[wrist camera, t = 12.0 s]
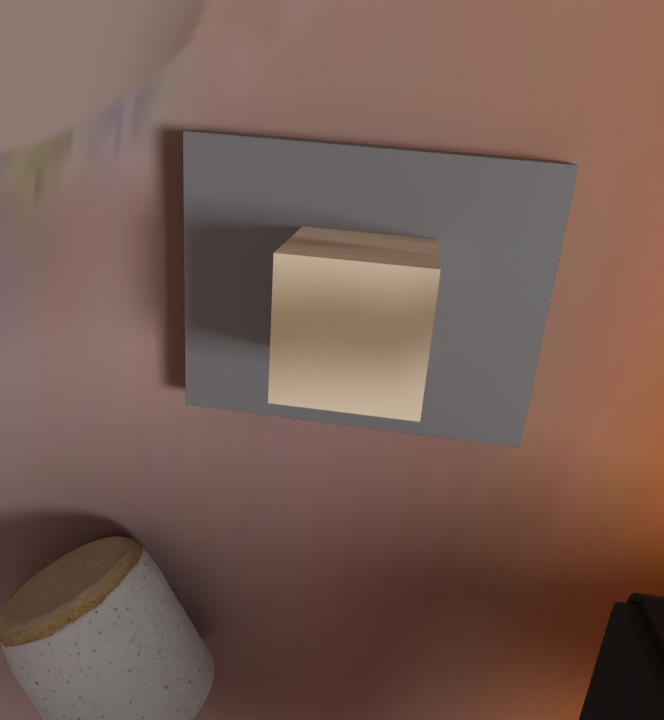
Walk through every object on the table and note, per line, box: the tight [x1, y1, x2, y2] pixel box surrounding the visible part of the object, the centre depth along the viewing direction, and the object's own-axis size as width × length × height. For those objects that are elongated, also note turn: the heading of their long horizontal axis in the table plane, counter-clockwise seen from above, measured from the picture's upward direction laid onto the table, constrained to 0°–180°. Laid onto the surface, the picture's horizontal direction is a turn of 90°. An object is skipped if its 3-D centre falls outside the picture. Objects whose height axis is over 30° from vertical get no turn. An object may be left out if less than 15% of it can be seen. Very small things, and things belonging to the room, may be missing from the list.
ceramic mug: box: [0, 536, 215, 720], centre depth 30 cm, size 11×8×8 cm
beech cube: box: [268, 226, 441, 422], centre depth 22 cm, size 5×5×5 cm
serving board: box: [183, 130, 578, 447], centre depth 25 cm, size 11×14×2 cm
